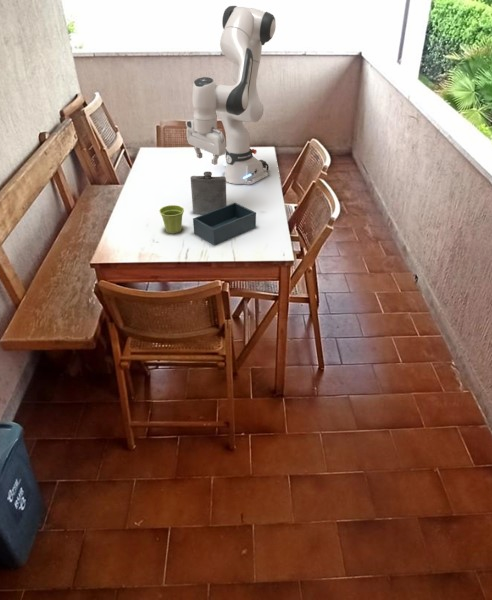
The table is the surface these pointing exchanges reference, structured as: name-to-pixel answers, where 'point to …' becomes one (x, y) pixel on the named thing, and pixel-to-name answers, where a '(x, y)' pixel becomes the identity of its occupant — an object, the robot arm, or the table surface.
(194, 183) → the flask
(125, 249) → the table surface
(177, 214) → the plant pot
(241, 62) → the robot arm
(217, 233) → the tote
